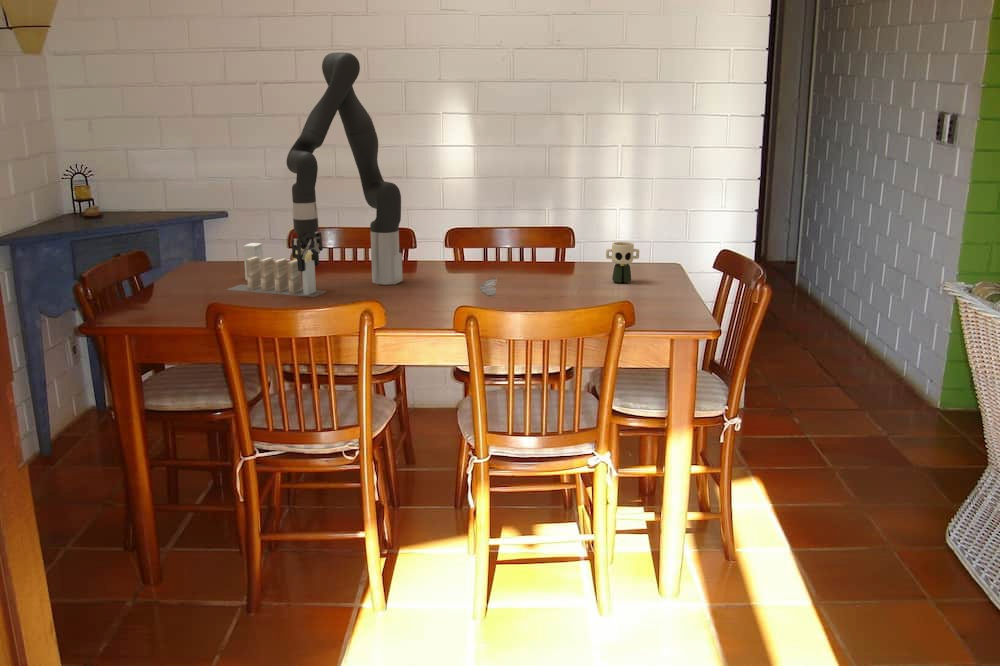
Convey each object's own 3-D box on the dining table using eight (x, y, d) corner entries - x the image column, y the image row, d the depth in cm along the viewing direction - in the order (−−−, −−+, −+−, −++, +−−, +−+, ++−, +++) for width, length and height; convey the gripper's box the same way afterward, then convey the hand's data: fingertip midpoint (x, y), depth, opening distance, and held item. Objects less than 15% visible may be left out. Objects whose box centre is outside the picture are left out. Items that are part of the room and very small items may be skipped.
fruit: (286, 271, 335) (285, 248, 333) (300, 267, 343) (298, 245, 341) (305, 273, 332) (303, 250, 330) (318, 268, 340) (316, 246, 338)
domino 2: (274, 288, 307) (272, 257, 305) (266, 291, 303) (264, 260, 300) (270, 288, 308) (268, 257, 305) (261, 291, 303) (259, 260, 301)
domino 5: (315, 291, 303) (314, 260, 300) (307, 295, 298) (306, 263, 295) (311, 291, 303) (309, 260, 300) (303, 294, 298) (301, 263, 296)
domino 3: (288, 289, 306) (286, 258, 303) (279, 292, 301) (277, 261, 298) (283, 289, 306) (281, 258, 304) (275, 292, 302) (273, 261, 299)
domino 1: (261, 287, 309) (259, 256, 306) (252, 290, 304) (250, 259, 302) (256, 286, 309) (254, 256, 307) (248, 290, 305) (245, 259, 302)
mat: (327, 292, 303) (327, 291, 303) (314, 298, 296) (314, 296, 296) (240, 285, 313) (240, 284, 313) (226, 290, 306) (226, 289, 306)
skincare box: (257, 281, 319) (254, 246, 316) (245, 281, 320) (242, 245, 317) (264, 277, 325) (262, 243, 322) (253, 277, 326) (250, 242, 323)
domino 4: (302, 290, 304) (300, 259, 301) (293, 293, 300) (291, 262, 297) (297, 290, 305) (295, 259, 302) (289, 293, 300) (287, 262, 297)
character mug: (606, 284, 314) (607, 245, 310) (604, 279, 320) (605, 241, 317) (639, 284, 313) (640, 245, 310) (636, 280, 320) (638, 241, 317)
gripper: (304, 220, 286) (307, 273, 291) (327, 213, 299) (330, 264, 304) (282, 219, 289) (286, 272, 293) (306, 212, 302) (309, 263, 306)
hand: (308, 268), depth 298 cm, fingers open, 8 cm apart
